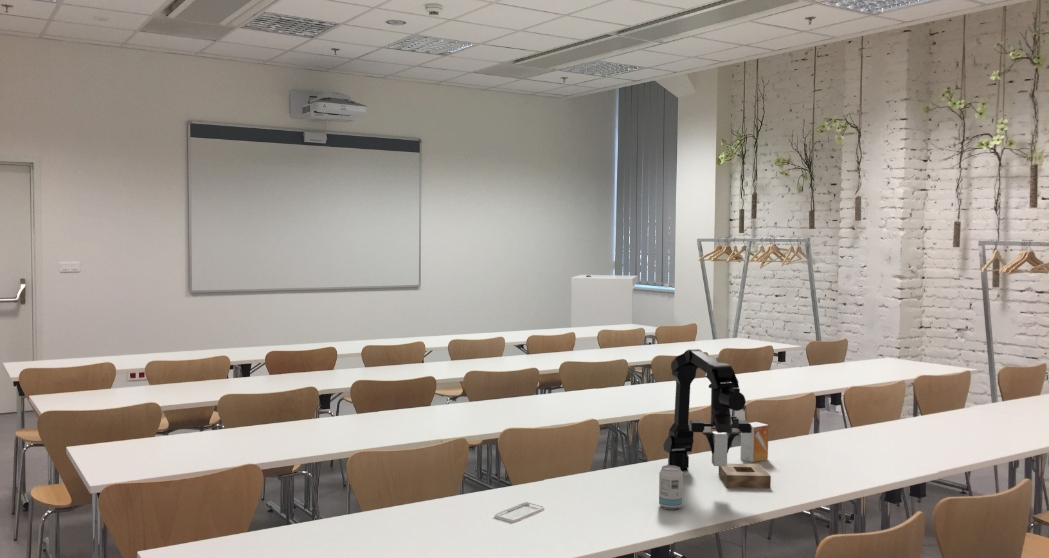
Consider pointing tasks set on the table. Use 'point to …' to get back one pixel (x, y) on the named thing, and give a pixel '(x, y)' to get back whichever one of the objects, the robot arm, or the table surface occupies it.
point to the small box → (755, 443)
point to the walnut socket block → (745, 476)
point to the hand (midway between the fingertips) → (719, 453)
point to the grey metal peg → (719, 449)
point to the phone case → (520, 516)
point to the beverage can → (670, 487)
